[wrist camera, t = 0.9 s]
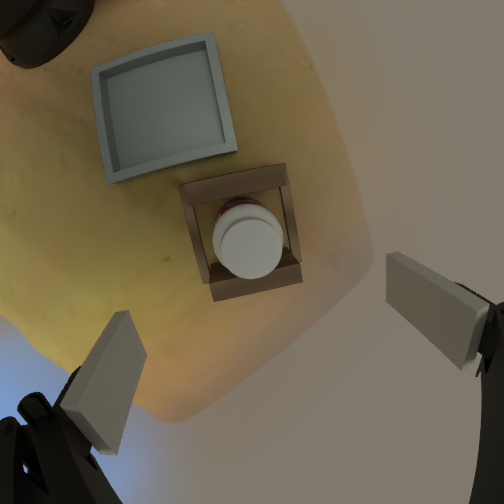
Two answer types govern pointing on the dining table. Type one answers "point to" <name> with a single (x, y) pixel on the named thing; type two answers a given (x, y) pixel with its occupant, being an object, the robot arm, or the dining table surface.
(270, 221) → the pill bottle
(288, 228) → the wooden open frame
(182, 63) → the tray
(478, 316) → the robot arm
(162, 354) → the dining table surface
